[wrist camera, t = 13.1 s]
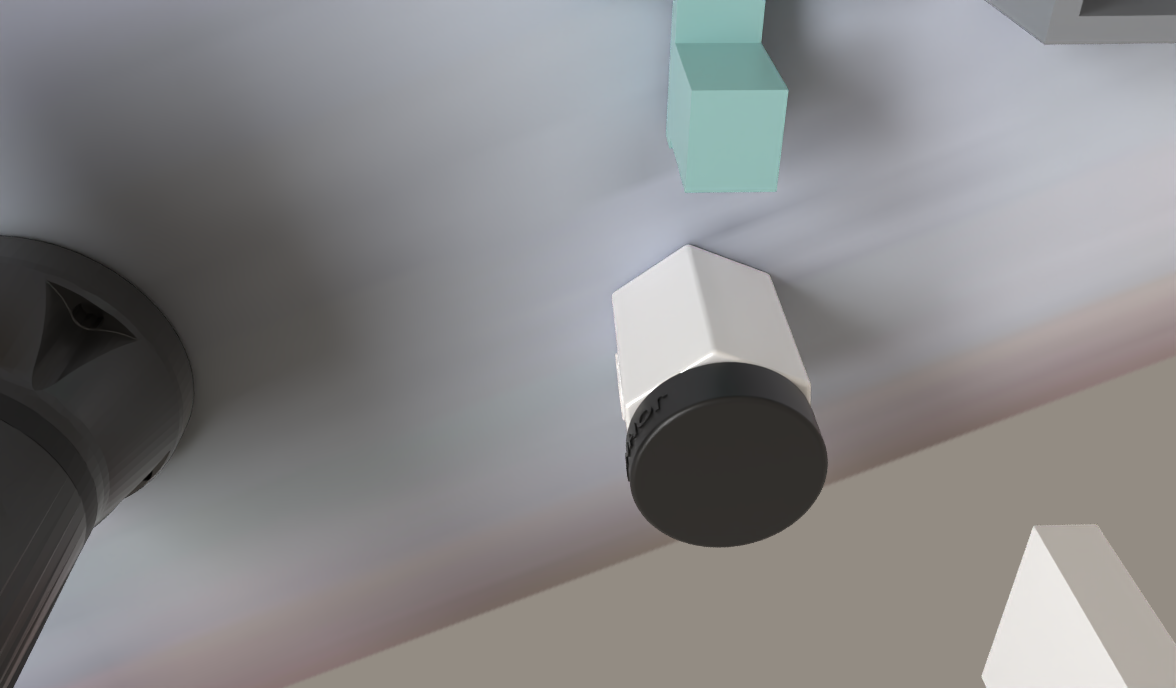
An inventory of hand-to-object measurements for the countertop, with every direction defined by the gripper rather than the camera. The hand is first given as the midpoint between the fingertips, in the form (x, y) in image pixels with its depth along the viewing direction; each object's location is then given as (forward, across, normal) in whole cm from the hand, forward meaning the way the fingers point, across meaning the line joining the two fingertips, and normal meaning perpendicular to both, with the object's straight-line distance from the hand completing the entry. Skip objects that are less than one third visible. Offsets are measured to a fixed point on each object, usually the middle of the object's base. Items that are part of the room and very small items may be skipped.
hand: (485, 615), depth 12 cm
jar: (+35, +8, -18) cm, 40 cm away
